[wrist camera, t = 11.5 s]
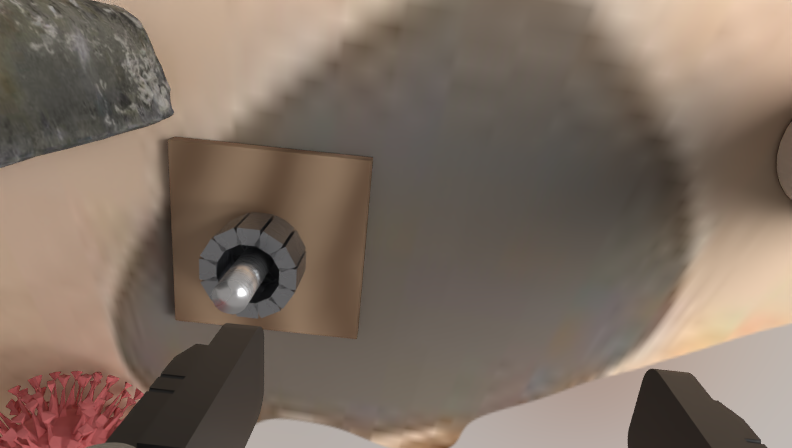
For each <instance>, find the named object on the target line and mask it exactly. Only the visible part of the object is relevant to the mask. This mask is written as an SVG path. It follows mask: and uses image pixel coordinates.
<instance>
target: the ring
mask: <svg viewBox="0 0 792 448" xmlns="http://www.w3.org/2000/svg"><path fill="white" fill-rule="evenodd" d="M293 229H294V227H293V226H291V225H290V224H288V223H287V222H285V221H284V220H282V219H281V218H279V217H278V216H275V218H274V219H273V214H266V213H257V212H251V213H246V214H244V215H242V216H239V217H237V218H235V219H232V220H230V221H229V222H228V223H227V224H226V225H225V226H224V227H223V228H222V229H221V230H220V231H219V232H218V233H217V234H215V235H214V236H213V237H212V238H211V240H210V241H209V243H208V244H207V246H206V247H205V249H204V250H203V252H202V253H201V255H200V256H201V257H200V258H199V279H200V280H202V281H201V282H200V283H201V284H202V286H203V288H204V289H205V291H206V293H207V294H208V296H209V297H210V299H211V301H212V291H213V289H214V287H215V286H216V285H217V284H218V282H219V281H220V280H221V279H222V278H223V276H224V275H225V274H226V273H227V271H228V270H229V269H230V268H231V267H232V265H233V264H234V263H235V262H234V260H233V247H235V246H237V245H248V246H257V247H258V248H260V249H261V250H263V251H264V252H266V253H267V254H269V255H271V256H272V258H273V260H274V262H275V264H276V265H277V267H278V269H279V278H278V279H275V280H273V281H270V282H262V283H261V284H260V286H259V287H258V289H257V290H256V292H255V294H254V295H253V297H252V298H251V300H250V301H249V303H248V305H247V306H246V308H245V309H244V310H243V311H241V312H240V313H237V314H236V316H238V317H247V318H256V319H258V318H259V316H260V317H261V318H263V317H266V316H268V315H271V314H273V313H276V312H279V311H281V309H283V308H284V307H285V305H286V304H287V303H288V301H289V300H290V299H291V297H292V296H293V295H294V293H295V291H296V289H297V287H298V285H299V283H300V281H301V279H302V277H303V275H304V272H305V270H306V252H307V251H305V249H306V247H305V245H304V243H303V241H302V240H301V238H300V236H299V234H298V232H297V230H295V231H292V230H293ZM232 315H234V314H232Z"/></svg>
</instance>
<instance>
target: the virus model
mask: <svg viewBox="0 0 792 448" xmlns="http://www.w3.org/2000/svg"><path fill="white" fill-rule="evenodd" d="M60 373H61V372H54V373H50V374H49V375H50V376H51V377H52V378H53V379H54V380H56V379H57V378H58V379H59V381H60V382H61V384H62V386H63V387H64V389H63V390H62V394H61V401H60V405H59V404H58V398H57V391H56V384H55V381H54V380H51V381H47V386H48V388H49V389H50V391H51V393H52V391H53V388H54V393H53V394H51V397H50V401H49V402H46V401H45V400H44V398H43V396H44V393H45V390H46V387H43V388H40V382H41V378H42V375H38V376H35V377H33V378H32V379H29V380H28V382H29V383H30V384H31V385H32V387H33V388H34V389H35V391H36V394H33V395H29V394H28V388H26V389H23V390H21V391H19V389H20V387H21V386H19V385H18V386H16V387H14V388H12V389H10V390H8V392H10V393H12V394H14V395H16V396H17V397H18V400H17V401H16V402H15V401H14V400H13V399H11V400H10V401H9V403H8V404H7V405H6V407H7V408H9V409H11V412H10V415H17V416H15V417H13V418H12V419H11V420H12V421H11V420H10V419H8V418H7V417H5V416H4V415H3V414H2V413H0V416H1V418H2V419H3V420H4V422H5V423H6V425H7V426H8V428H9V429H8V428H7V427H6V426H5V424H4V423H3V422H2V421H1V420H0V433H1V435H2V437H1V436H0V448H86V447H88V446H92V445H96V444H102V443H105V442H106V441H107V439H108V438H109V437H110V436H111V434H112V433H113V432H114V431H115V430H116V428H117V427H118V426H119V425H120V423H121V422H122V421H123V420H124V419H125V418H124V419H123V420H120V419H119V418H120V417H122V416H123V412H124V411H125V410H126V408H127V407H128V406H130V405H132V404H135V403H136V402H135V400H137V399H140V398H142V396H143V395H144V394H143V393H142V392H141V391H140V390H138V389H137V388H136V392H135V396H134V399H132V398H129V397H130V396H131V395H130V394H129V393H128V392H127V391H126V388H128V387H131V386H132V385H131V384H129V383H127V382H125V390H123V391H122V392H123V393H122V392H121V393H120V394H119V396H118V397H117V398H116V399H115V400H114V401H113V403H112V404H111V405H110V406H107V407H106V411H105V412H104V413H103V414H101V411H102V407H103V405H104V404H105V402H106V401H107V400H109V399H110V398H112V397H113V395H114V394H112V393H110V392H108V390H109V389H110V387H111V386H112V385H113V384H115V383H116V382H117V381H119V379H120V378H117V377H115V376H112V375H108V377H107V379H106V386H105V387H104V388H103V390H102V391H101V393H100V394H99V396H98V397H97V398H96V400H95V401H94V403H93V395H94V390H95V388H96V386H97V385H98V384H100V383H101V380H100V379H101V378H102V377H103V376H102V373H101V372H95V373H94V374H93V375H89V374H84V375H81V374H82V372H81V371H73V372H71V373H72V375H73V376H74V378H75V380H76V379H77V381H78V384H79V389H78V393H77V398H76V401H75V398H74V388H75V382H74V385H73V387H72V389H71V392H70V394H69V397H68V399H67V401H66V404H65V386H66V384H67V382H68V380H69V378H70V376H71V375H65V374H63V375H60ZM59 375H60V376H59ZM92 376H93V378H94V380H93V381H90V384H91V389H90V391H89V393H88V395H87V397H86V398H85V400H84V401H81V400H82V394H83V390H84V388H85V386H86V385H87V383H88V382H89V380H90V379H91V377H92ZM37 387H38V389H37ZM81 387H83V390H82V393H81V396H80V400H79V402H78V398H79V394H80V390H81ZM93 388H94V389H93ZM106 388H107V389H106ZM105 390H106V391H105ZM17 394H18V395H17ZM121 394H122V396H121V399H122V398H126V397H128V400H127V404H126V407H125V408H124V409H122V410H121V409H120V408H119V407H118V408H116V407H117V405H119V403H120V402H119V403H118V404H117V405H116V406H115V407H114V404H115V403H116V401H117V400H118V398H119V397H120V395H121ZM19 397H21V398H19ZM105 400H106V401H105ZM22 401H23V402H24V403H25V404H26V405H24V404H23V402H22ZM120 401H121V400H120ZM77 402H78V406H77ZM48 403H49V407H48ZM36 408H37V410H38V414H37V416H36V415H35V413H34V411H35V409H36ZM28 410H29V411H30V412H31V414H32V415H31V414H30V412H29V411H28ZM21 411H22V412H21ZM113 411H114V416H113V417H111V418H109V417H110V416H111V414H112V413H113ZM16 423H21V424H20V425H18V424H16ZM115 424H116V425H115Z"/></svg>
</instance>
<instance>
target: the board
mask: <svg viewBox="0 0 792 448" xmlns="http://www.w3.org/2000/svg"><path fill="white" fill-rule="evenodd" d="M168 160H169V183H170V205H171V228H172V251H173V273H174V296H175V318H176V320H179V321H188V322H198V323H208V324H217V325H224V324H225V323H232V324H242V325H251V326H260V327H262V329H265V330H275V331H284V332H294V333H304V334H313V335H323V336H332V337H342V338H352V339H357V334H358V326H359V314H360V303H361V291H362V280H363V268H364V257H365V245H366V233H367V222H368V210H369V199H370V187H371V176H372V164H373V157H363V156H354V155H344V154H335V153H325V152H316V151H306V150H297V149H287V148H278V147H268V146H259V145H249V144H240V143H230V142H221V141H211V140H202V139H192V138H183V137H173V138H171V139H168ZM251 212H257V213H266V214H273V215H275V216H278V217H280V218H282V219H284V220H286V221H287V222H288V223H289V224H290V225H291V226H293V227H294V229H295V230H297V232H298V234H299V236H300V238H301V240H302V241H303V243H304V245H305V247H306V249H305V251H307V252H306V270H305V272H304V275H303V277H302V279H301V281H300V283H299V285H298V287H297V289H296V291H295V293H294V295H293V296H292V297H291V299H290V300H289V301H288V303H287V304H286V305H285V307H284V308H283V309H281V311H279V312H276V313H273V314H271V315H268V316H266V317H263V318H261V317H260V316H259V318H258V319H256V318H247V317H238V316H236V314H234V315H232V314H227V313H224V312H222V311H220V310H219V309H218V308H217V307H216V306H215V305H214V303H213V301H211V299H210V297H209V296H208V294H207V293H206V291H205V289H204V288H203V286H202V284H201V283H200V282H201V281H202V280H200V279H199V258H200V257H201V256H200V255H201V253H202V252H203V250H204V249H205V247H206V246H207V244H208V243H209V241H210V240H211V238H212V237H213V236H214V235H215V234H217V233H218V232H219V231H220V230H221V229H222V228H223V227H224V226H225V225H226V224H227V223H228V222H229V221H230V220H232V219H235V218H237V217H239V216H242V215H244V214H246V213H251Z"/></svg>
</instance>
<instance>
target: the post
mask: <svg viewBox="0 0 792 448" xmlns="http://www.w3.org/2000/svg"><path fill="white" fill-rule="evenodd" d="M274 218H275V215H273V219H274ZM279 218H280V217H279ZM281 219H282V218H281ZM282 220H284V219H282ZM284 221H285V222H287V221H286V220H284ZM287 223H288V222H287ZM288 224H289V223H288ZM292 231H295V229H293V230H292ZM233 260H234V262H235V263H234V264H233V265H232V267H231V268H230V269H229V270H228V271H227V273H226V274H225V275H224V276H223V278H222V279H221V280H220V281H219V282H218V284H217V285H216V286H215V287H214V289H213V291H212V301H213V303H214V305H215V306H216V307H217V308H218V309H219V310H220V311H222V312H224V313H227V314H237V313H240V312H241V311H243V310H244V309H245V308H246V306H247V305H248V303H249V301H250V300H251V298H252V297H253V295H254V294H255V292H256V290H257V289H258V287H259V286H260V284H261V283H262V282H270V281H273V280H275V279H278V278H279V269H278V267H277V265H276V264H275V262H274V260H273V258H272V256H271V255H269V254H267V253H266V252H264V251H263V250H261V249H260V248H258V247H257V246H248V245H237V246H235V247H233Z"/></svg>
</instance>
